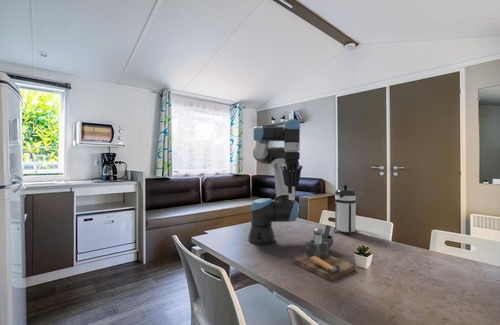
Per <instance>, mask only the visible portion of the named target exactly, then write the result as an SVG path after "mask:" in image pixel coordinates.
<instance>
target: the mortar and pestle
mask: <svg viewBox="0 0 500 325" xmlns="http://www.w3.org/2000/svg"><path fill="white" fill-rule="evenodd" d="M331 229H332V226H331V225H328V224H326V225H325V229H324V230H323V234H322V241H324V242H327V243H328V253H329V252H330V248H332V245H333V244H334V236H332V235H330V231H331ZM312 237H313V239H314V235H313V236H312Z"/></svg>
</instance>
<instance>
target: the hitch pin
mask: <svg viewBox="0 0 500 325" xmlns="http://www.w3.org/2000/svg"><path fill="white" fill-rule="evenodd" d="M313 234H314V238H313V240H314V244H317V245H319V244H322V234H324V230H323V229H322V228H313Z"/></svg>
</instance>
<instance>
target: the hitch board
mask: <svg viewBox="0 0 500 325" xmlns="http://www.w3.org/2000/svg"><path fill="white" fill-rule="evenodd" d="M305 249H306V250H305V251H306V252H305V253H304V254H303V255H298V256H296V257H293V258H292V262H293V264H295V265H297V266H298V267H301V268H303V269H305V270H308V271H309V272H312V273H313V274H316V275H318V276H320V277H322V278H323V279H326V280H328V281H330V282H333V281H336V280H338V279H339V278H341V277H344V276H346V275H348V274H350V273H352V272H354V271H356V265H355V264H354V263H350V262H348V261H346V260H342V259H340V258H337V257H335V256H333V255H329V252H328V243H327V242H324V241H322V244H319V245H317V244H314V239H311V240H308V241H307V240H306V242H305ZM313 256H316V257H318V258H320V259H321V260H323V261H325V262H326V263H328V264H330V265H331V266H333V267H335V268H336V267H337V268H338V270H337V271H335V272H332V273H331V269H329V268H328V270H327V269H325V268H323V267H322V266H320V265H318V264H317V263H315V262H314V261H312V260H310V257H313Z"/></svg>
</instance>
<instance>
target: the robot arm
mask: <svg viewBox="0 0 500 325" xmlns="http://www.w3.org/2000/svg"><path fill="white" fill-rule="evenodd" d="M300 122H301V121H300V120H299V119H295V118H293V119H291V118H289V119H285V120H284V124H283V126H254V127H253V135H252V136H253V138H252V139H253V141H255V144H254V145H255V146H254V148H253V149H252V155H253V158H254V159H255V160H256V161H257V162H258V163H261V164H263V165H270V166H271V168H272V169H273V175H274V176H273V177H274V187H275V194H276V196H275V198H274V200H272V198H269V197H268V198H266V197H265V198H258V199H255V200H253V201H252V202H251V207H250V210H251V216H250V217H251V220H250V221H251V226H250V229H249V234H248V236H247V241H248V242H249V241H250V243H252V244H255V245H269V244H273V243H275V241H276V240H275V239H276V238H275V236H276V235H275V232H274V230H273V227H272V224H273V222H274V223H279V222H280V223H283V222H284V223H286V222H287V223H289V222H291V223H292V222H296V221H297V219H298V214H299V202H298V201H297V200H295V199H296V197H295V196H296V192H297V191H296V188H297V187H298V186H299V184H300V179H301V173H302V169H303V165H300V162H299V160H300V156H301V155H300V145H301V144H300V142H301V141H300V140H301V138H300V137H301V136H300V135H301V134H300V133H301V132H300V131H301V130H300V129H301V123H300ZM270 142H284V143H283V146H279V147H278V146H277V147H275V146H274V147H270V146H269V144H270Z"/></svg>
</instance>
